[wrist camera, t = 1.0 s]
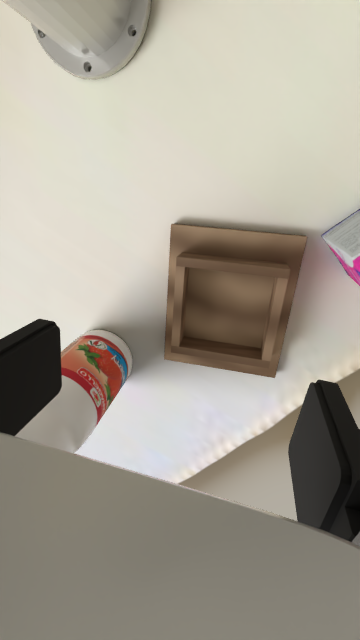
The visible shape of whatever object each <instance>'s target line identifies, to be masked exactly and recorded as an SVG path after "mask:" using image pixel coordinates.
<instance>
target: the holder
mask: <svg viewBox="0 0 360 640" xmlns="http://www.w3.org/2000/svg"><path fill="white" fill-rule="evenodd" d="M306 240H307V237H306V236H303V235H292V234H281V233H270V232H259V231H248V230H237V229H226V228H215V227H204V226H193V225H182V224H171V236H170V256H169V276H168V295H167V315H166V335H165V354H164V359H166V360H172V361H178V362H184V363H190V364H196V365H202V366H208V367H214V368H219V369H225V370H231V371H237V372H243V373H249V374H255V375H261V376H267V377H273V378H275V376H276V371H277V367H278V363H279V358H280V354H281V349H282V345H283V341H284V336H285V332H286V328H287V323H288V319H289V315H290V310H291V306H292V301H293V297H294V293H295V288H296V284H297V280H298V275H299V271H300V267H301V262H302V258H303V253H304V249H305V245H306Z"/></svg>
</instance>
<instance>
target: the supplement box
mask: <svg viewBox="0 0 360 640" xmlns="http://www.w3.org/2000/svg"><path fill="white" fill-rule="evenodd" d="M322 238H323V239H324V240H325V242H326V243H327V244H328V246H329V247H330V248H331V250H332V251H333V253H334V254H335V256H336V257H337V259H338V260H339V261H340V263H341V264H342V266H343V267H344V269H345V271H346V272H347V274H348V275H349V276H350V277H351V278H352V279H353V280H354V281H355V282H356V283H357V284H358V285H359V286H360V209H359V210H358V211H356V212H355V213H353V214H352V215H350V216H349V217H347V218H346V219H344V220H343V221H341V222H340V223H338V224H337V225H335V226H334V227H332V228H331V229H329V230H328V231H327V232H325V233H324V234H322Z"/></svg>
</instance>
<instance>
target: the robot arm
mask: <svg viewBox="0 0 360 640" xmlns="http://www.w3.org/2000/svg"><path fill="white" fill-rule="evenodd" d="M2 1H3V2H5V3H6V4H7V5H8V6H10V7H11V8H12V9H14V10H15V11H16V12H17V13H19V14H20V15H21V16H23V17H24V18H25V19H26V20H28V21H29V22H30V23H31V25H32V28H33V31H34V33H35V35H36V37H37V39H38V41H39V43H40V45H41V46H42V48H43V49H44V51H45V52H46V54H47V55H48V56H49V57H50V58H51V59H52V60H53V61H54V62H55V63H56V64H57V65H58V66H60V67H61V68H62V69H64V70H65V71H67V72H69V73H70V74H72V75H74V76H77V77H80V78H83V79H92V80H96V79H101V78H106V77H108V76H110V75H113V74H115V73H116V72H118V71H119V70H120V69H122V68H123V67H124V66H125V65H126V64H127V63H128V62H129V61H130V59H131V58H132V57H133V56H134V54H135V53H136V51H137V49H138V47H139V46H140V44H141V42H142V39H143V36H144V34H145V31H146V28H147V24H148V20H149V15H150V6H151V0H2ZM135 32H136V35H135V36H133V34H134V33H135ZM90 68H91V71H90ZM61 387H62V372H61V346H60V329H59V327H58V326H57V325H56V323H55V322H53V321H48V320H43V319H37V320H36V321H34V322H32V323H30V324H28V325H26V326H24V327H23V328H21V329H19V330H17V331H15V332H13V333H11V334H9V335H8V336H6V337H4V338H2V339H0V640H360V429H358V427H357V425H356V423H355V421H354V418H353V416H352V414H351V412H350V410H349V408H348V405H347V403H346V401H345V399H344V397H343V395H342V392H341V390H340V388H339V386H338V384H337V383H332V382H328V381H323V380H317V382H316V383H313V382H312V383H310V385H309V388H308V391H307V394H306V397H305V400H304V402H303V405H302V408H301V411H300V414H299V417H298V420H297V423H296V426H295V429H294V432H293V435H292V437H291V440H290V444H289V452H288V453H289V461H290V467H291V476H292V483H293V490H294V498H295V505H296V512H297V520H298V522H297V521H294V520H291V519H288V518H285V517H283V516H280V515H277V514H274V513H271V512H267V511H264V510H261V509H257V508H254V507H251V506H248V505H244V504H241V503H238V502H235V501H231V500H228V499H225V498H221V497H218V496H215V495H211V494H208V493H205V492H202V491H198V490H195V489H192V488H188V487H185V486H182V485H178V484H175V483H172V482H168V481H165V480H162V479H158V478H155V477H152V476H148V475H145V474H142V473H138V472H135V471H132V470H128V469H125V468H121V467H118V466H115V465H111V464H108V463H104V462H101V461H98V460H94V459H91V458H88V457H84V456H81V455H77V454H74V453H70V452H67V451H64V450H60V449H57V448H53V447H50V446H47V445H43V444H40V443H36V442H33V441H29V440H26V439H22V438H19V437H15V435H16V434H18V433H19V432H20V431H21V430H22V429H23V428H24V427H25V426H26V425H27V424H28V423H29V422H30V421H31V420H32V419H33V418H34V417H35V416H36V415H37V414H38V413H39V412H40V411H41V410H42V409H43V408H44V407H45V406H46V405H47V404H48V403H49V402H50V401H51V400H53V399H54V398H55V397H56V396H57V395H58V394H59V392H60V390H61Z"/></svg>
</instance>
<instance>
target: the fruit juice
mask: <svg viewBox="0 0 360 640" xmlns="http://www.w3.org/2000/svg"><path fill="white" fill-rule="evenodd" d="M132 363H133V361H132V355H131V352H130V350H129V348H128V346H127V345H126V343H125V342H124V341H123V340H122V339H121V338H119V337H118V336H117V335H115V334H113V333H111V332H108V331H105V330H92V331H89V332H86V333H84V334H82V335H81V336H79V337H78V338H77V339H76V340H75V341H73V342H72V343H71V344H70V345H69V346H68V347H66V348H65V349H64V350H63V351H62V352H61V372H62V387H61V390H60V392H59V394H58V395H57V396H56V397H55V398H54V399H53V400H51V401H50V402H49V403H48V404H47V405H46V406H45V407H44V408H43V409H42V410H41V411H40V412H39V413H38V414H37V415H36V416H35V417H34V418H33V419H32V420H31V421H30V422H29V423H28V424H27V425H26V426H25V427H24V428H23V429H22V430H21V431H20V432H19V433H18V434H16V435H15V437H19V438H22V439H26V440H29V441H33V442H36V443H40V444H43V445H47V446H50V447H53V448H57V449H60V450H64V451H67V452H70V453H75V452H76V451H77V450H78V449H79V448H80V447H81V446H82V445H83V444H84V443H85V441H86V440H87V439H88V437H89V436H90V435H91V433H92V432H93V430H94V429H95V427H96V425H97V424H98V422H99V421H100V419H101V418H102V416H103V415H104V413H105V412H106V410H107V409H108V407H109V406H110V404H111V403H112V401H113V400H114V398H115V397H116V395H117V394H118V392H119V391H120V389H121V388H122V386H123V384H124V383H125V381H126V380H127V378H128V377H129V375H130V372H131V370H132Z"/></svg>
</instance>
